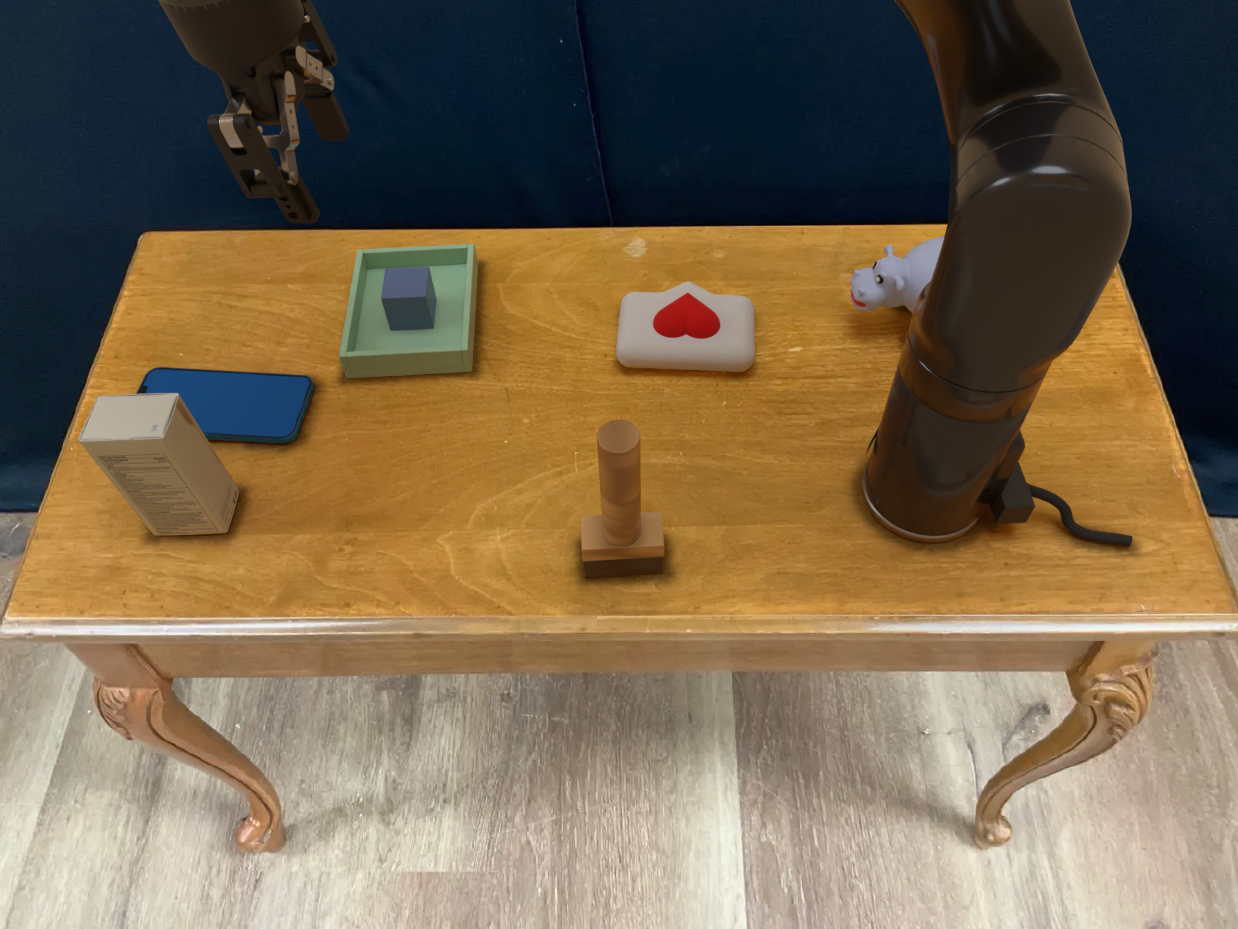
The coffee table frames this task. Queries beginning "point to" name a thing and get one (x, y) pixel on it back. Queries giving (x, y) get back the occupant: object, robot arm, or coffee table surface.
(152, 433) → the cosmetic box
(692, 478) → the coffee table surface
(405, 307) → the block
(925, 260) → the hippopotamus toy
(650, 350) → the icon
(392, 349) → the tray
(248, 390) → the smartphone
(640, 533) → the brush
